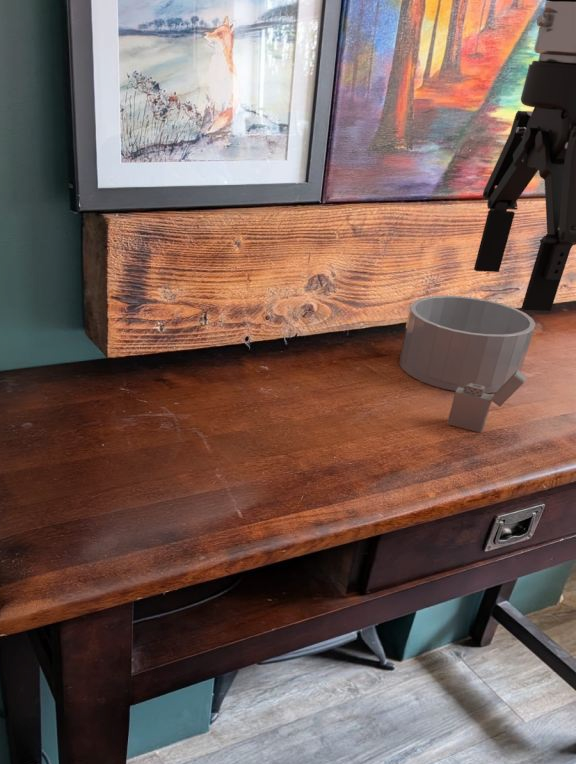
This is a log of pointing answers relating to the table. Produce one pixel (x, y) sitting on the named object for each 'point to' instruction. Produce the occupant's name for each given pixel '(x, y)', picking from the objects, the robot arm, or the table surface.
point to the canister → (464, 342)
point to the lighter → (479, 403)
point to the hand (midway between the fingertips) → (509, 289)
